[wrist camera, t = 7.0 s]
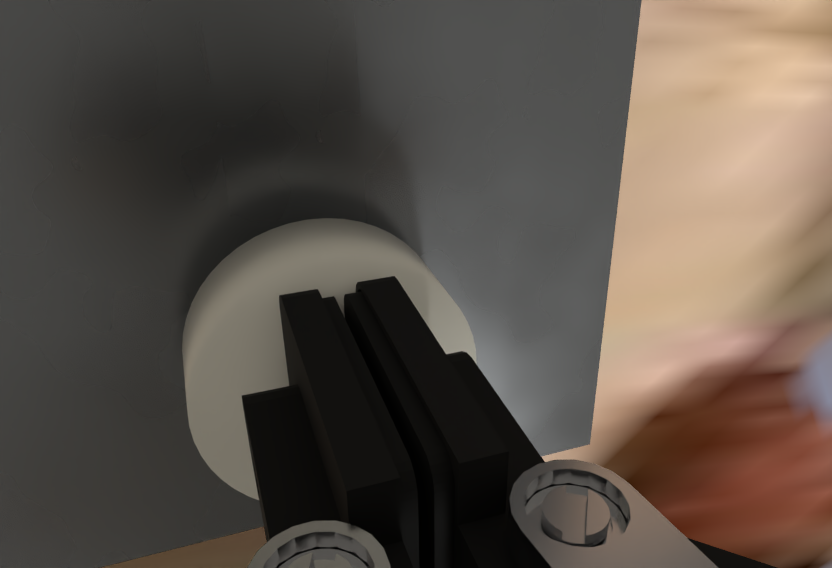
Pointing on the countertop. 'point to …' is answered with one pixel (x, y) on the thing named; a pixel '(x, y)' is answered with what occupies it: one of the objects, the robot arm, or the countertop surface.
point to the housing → (280, 219)
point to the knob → (262, 329)
